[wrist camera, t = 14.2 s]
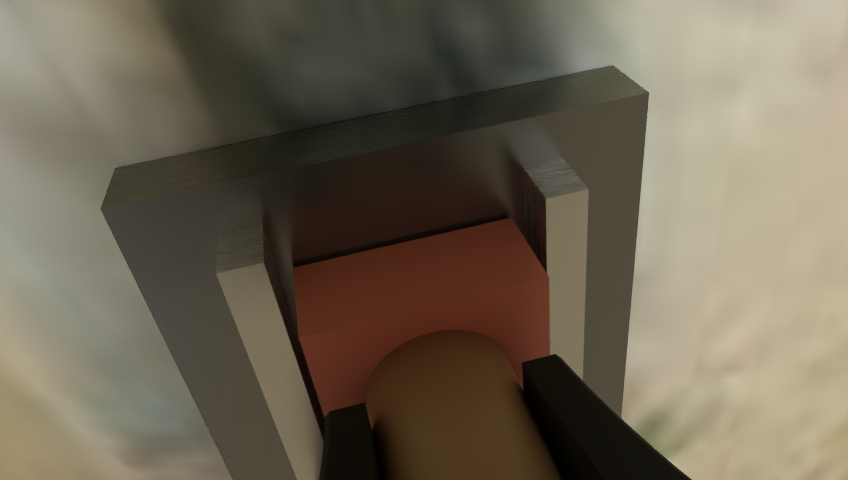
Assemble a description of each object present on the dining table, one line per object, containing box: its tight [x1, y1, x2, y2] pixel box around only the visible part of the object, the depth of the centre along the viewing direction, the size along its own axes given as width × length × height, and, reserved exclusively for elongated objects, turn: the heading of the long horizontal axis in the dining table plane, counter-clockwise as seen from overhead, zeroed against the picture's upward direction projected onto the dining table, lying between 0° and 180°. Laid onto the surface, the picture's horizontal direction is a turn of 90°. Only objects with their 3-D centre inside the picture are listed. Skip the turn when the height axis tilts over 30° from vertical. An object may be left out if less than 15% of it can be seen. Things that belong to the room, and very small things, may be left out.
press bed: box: [101, 66, 649, 480], centre depth 18 cm, size 20×10×3 cm, turn 9°
